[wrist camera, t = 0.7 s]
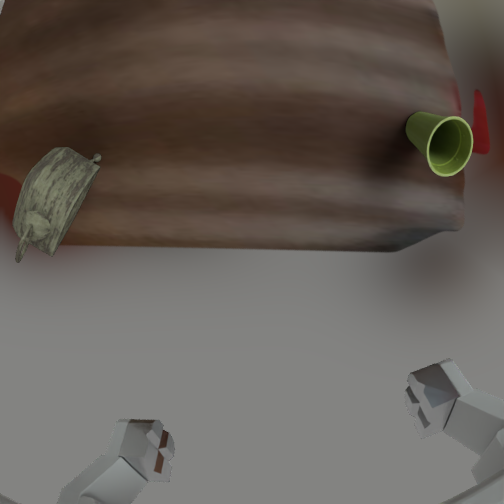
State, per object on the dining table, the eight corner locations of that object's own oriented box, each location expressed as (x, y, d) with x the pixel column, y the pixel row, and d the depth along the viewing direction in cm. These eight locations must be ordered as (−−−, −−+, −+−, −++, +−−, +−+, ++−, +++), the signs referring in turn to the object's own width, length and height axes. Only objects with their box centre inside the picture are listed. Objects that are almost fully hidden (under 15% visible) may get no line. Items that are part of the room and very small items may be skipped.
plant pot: (440, 147, 55) (471, 170, 47) (397, 157, 56) (426, 182, 48) (439, 97, 48) (474, 114, 39) (393, 103, 49) (426, 121, 40)
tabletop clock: (81, 207, 56) (33, 297, 37) (47, 187, 52) (-13, 269, 32) (110, 152, 50) (55, 231, 31) (73, 129, 46) (-2, 196, 26)
